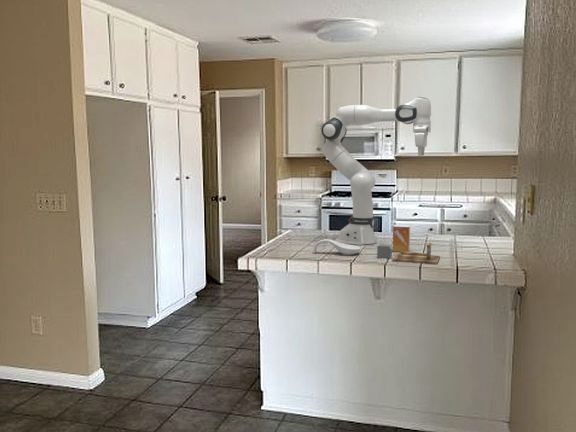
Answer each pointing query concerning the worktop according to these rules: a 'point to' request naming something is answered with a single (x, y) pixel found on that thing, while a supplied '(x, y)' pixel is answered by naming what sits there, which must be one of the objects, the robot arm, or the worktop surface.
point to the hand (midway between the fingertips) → (421, 155)
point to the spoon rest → (340, 247)
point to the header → (417, 257)
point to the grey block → (384, 251)
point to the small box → (401, 238)
